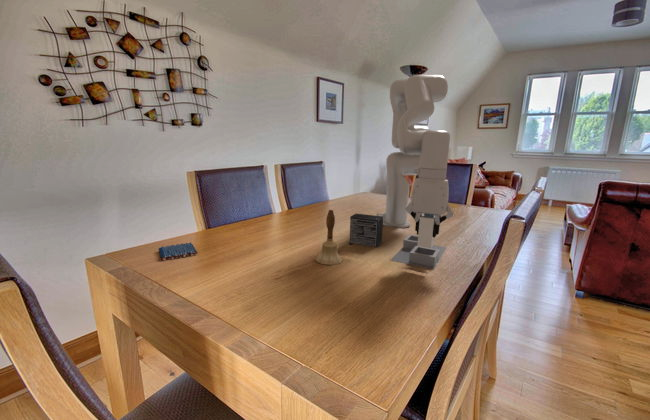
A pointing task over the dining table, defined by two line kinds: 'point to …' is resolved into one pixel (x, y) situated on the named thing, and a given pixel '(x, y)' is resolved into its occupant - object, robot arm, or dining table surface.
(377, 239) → the small box
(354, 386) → the dining table surface
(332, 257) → the hand bell
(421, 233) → the plug
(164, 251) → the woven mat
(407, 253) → the panel
